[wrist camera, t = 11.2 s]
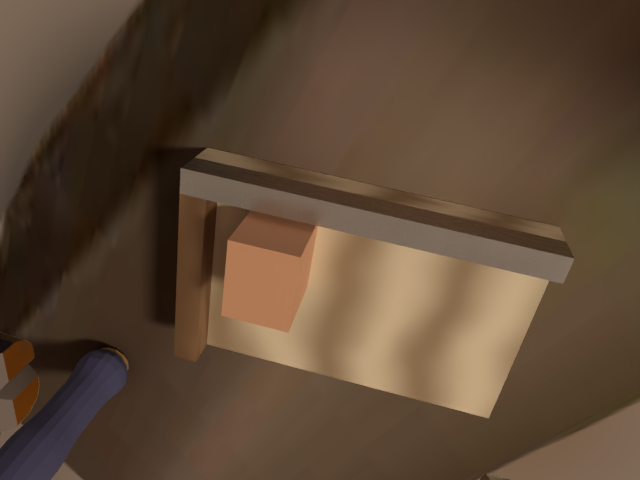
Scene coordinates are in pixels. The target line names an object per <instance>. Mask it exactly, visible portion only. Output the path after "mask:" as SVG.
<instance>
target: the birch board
mask: <svg viewBox="0 0 640 480" xmlns="http://www.w3.org/2000/svg"><path fill="white" fill-rule="evenodd" d="M196 158H200V159H205V160H209V161H213V162H218V163H222V164H227V165H231V166H235V167H240V168H244V169H249V170H253V171H257V172H262V173H266V174H271V175H275V176H279V177H284V178H288V179H293V180H297V181H301V182H306V183H310V184H315V185H319V186H323V187H328V188H332V189H337V190H341V191H345V192H350V193H354V194H359V195H363V196H367V197H372V198H376V199H381V200H385V201H389V202H394V203H398V204H403V205H407V206H411V207H416V208H420V209H425V210H429V211H433V212H438V213H442V214H447V215H451V216H455V217H460V218H464V219H469V220H473V221H477V222H482V223H486V224H491V225H495V226H499V227H504V228H508V229H513V230H517V231H521V232H526V233H530V234H535V235H539V236H543V237H548V238H552V239H557V240H561V241H565V242H566V240H565V238H564V236H563V234H562V232H561V230H560V228H559V227H558V226H554V225H549V224H545V223H540V222H536V221H531V220H527V219H523V218H518V217H514V216H509V215H505V214H500V213H496V212H491V211H487V210H483V209H478V208H474V207H469V206H465V205H460V204H456V203H451V202H447V201H442V200H438V199H434V198H429V197H425V196H420V195H416V194H411V193H407V192H402V191H398V190H394V189H389V188H385V187H380V186H376V185H371V184H367V183H362V182H358V181H354V180H349V179H345V178H340V177H336V176H331V175H327V174H322V173H318V172H313V171H309V170H305V169H300V168H296V167H291V166H287V165H282V164H278V163H273V162H269V161H265V160H260V159H256V158H251V157H247V156H242V155H238V154H233V153H229V152H224V151H220V150H216V149H211V148H206V149H205V150H204V151H202V152H201V153H200V154H198V155H197V156H196ZM250 211H251V210H247V209H243V208H239V207H234V206H230V205H226V204H222V203H217V202H213V201H209V200H205V199H200V198H196V197H192V196H188V195H183V194H180V197H179V226H178V255H177V283H176V312H175V340H174V356H175V357H179V358H183V359H187V360H190V361H194V362H196V361H197V359H198V358H199V356H200V354H201V353H202V351H203V349H204V348H205V346H206V345H207V344H208V345H212V346H216V347H220V348H223V349H227V350H231V351H235V352H239V353H242V354H246V355H250V356H254V357H258V358H261V359H265V360H269V361H273V362H277V363H280V364H284V365H288V366H292V367H296V368H299V369H303V370H307V371H311V372H315V373H318V374H322V375H326V376H330V377H334V378H337V379H341V380H345V381H349V382H353V383H356V384H360V385H364V386H368V387H372V388H375V389H379V390H383V391H387V392H391V393H394V394H398V395H402V396H406V397H410V398H413V399H417V400H421V401H425V402H428V403H432V404H436V405H440V406H444V407H447V408H451V409H455V410H459V411H463V412H466V413H470V414H474V415H478V416H482V417H485V418H489V416H490V414H491V412H492V409H493V407H494V405H495V403H496V400H497V398H498V396H499V394H500V391H501V389H502V387H503V384H504V382H505V380H506V378H507V375H508V373H509V371H510V369H511V366H512V364H513V362H514V359H515V357H516V355H517V353H518V350H519V348H520V346H521V343H522V341H523V339H524V337H525V334H526V332H527V330H528V328H529V325H530V323H531V321H532V318H533V316H534V314H535V312H536V309H537V307H538V305H539V303H540V300H541V298H542V296H543V293H544V291H545V289H546V287H547V284H548V282H549V280H545V279H541V278H536V277H532V276H528V275H524V274H519V273H515V272H511V271H507V270H502V269H498V268H494V267H490V266H485V265H481V264H477V263H473V262H468V261H464V260H460V259H456V258H451V257H447V256H443V255H439V254H434V253H430V252H426V251H422V250H417V249H413V248H409V247H405V246H400V245H396V244H392V243H388V242H383V241H379V240H375V239H371V238H366V237H362V236H358V235H354V234H349V233H345V232H341V231H336V230H332V229H328V228H324V227H319V226H318V229H317V235H316V241H315V246H314V252H313V258H312V263H311V269H310V275H309V280H308V286H307V289H306V291H305V294H304V296H303V299H302V301H301V303H300V306H299V308H298V311H297V313H296V316H295V318H294V320H293V323H292V325H291V328H290V330H289V333H287V332H283V331H280V330H276V329H272V328H268V327H264V326H260V325H256V324H252V323H248V322H244V321H240V320H237V319H233V318H229V317H225V316H221V313H222V301H223V289H224V277H225V266H226V254H227V242H228V239H229V238H230V236H231V235H232V234H233V233H234V231H235V230H236V229H237V227H238V226H239V225H240V224H241V222H242V221H243V220H244V219H245V217H246V216H247V215H248V213H249V212H250Z"/></svg>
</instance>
